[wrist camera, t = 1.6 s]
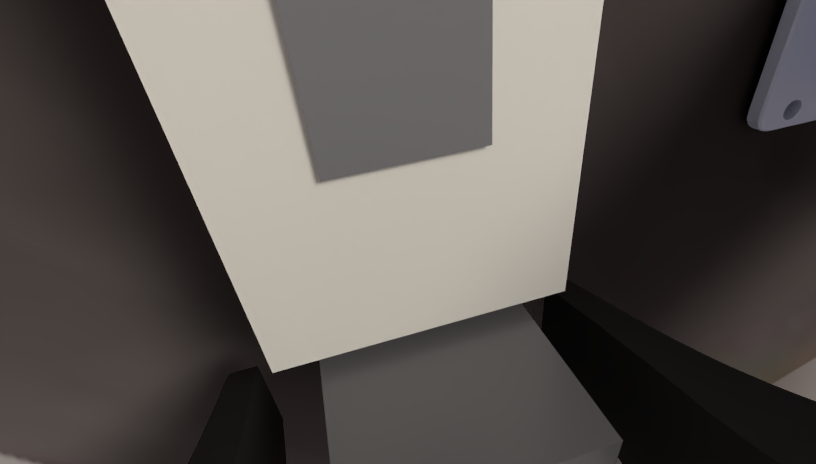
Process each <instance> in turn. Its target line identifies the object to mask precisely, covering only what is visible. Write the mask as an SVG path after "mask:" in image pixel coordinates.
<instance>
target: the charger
mask: <svg viewBox="0 0 816 464" xmlns="http://www.w3.org/2000/svg"><path fill="white" fill-rule="evenodd" d="M319 362H320V372H321V381H322V391H323V400H324V410H325V419H326V429H327V438H328V448H329V457H330V464H616V461H617V458H618V455H619V452H620V448H621V445H622V442H623V440H622V439H621V437H620V436H619V435H618V433H617V432H616V431H615V429H614V428H613V426H612V425H611V424H610V422H609V421H608V420H607V418H606V417H605V416H604V414H603V413H602V412H601V410H600V409H599V408H598V406H597V405H596V404H595V402H594V401H593V399H592V398H591V397H590V395H589V394H588V393H587V391H586V390H585V389H584V387H583V386H582V385H581V383H580V382H579V381H578V379H577V378H576V377H575V375H574V374H573V372H572V371H571V370H570V368H569V367H568V366H567V364H566V363H565V362H564V360H563V359H562V358H561V356H560V355H559V354H558V352H557V351H556V350H555V348H554V347H553V345H552V344H551V343H550V341H549V340H548V339H547V337H546V336H545V335H544V333H543V332H542V331H541V329H540V328H539V327H538V325H537V324H536V323H535V321H534V320H533V319H532V317H531V316H530V314H529V313H528V312H527V310H526V309H525V308H524V306H523V305H522V304H517V305H513V306H510V307H506V308H503V309H499V310H496V311H492V312H488V313H485V314H481V315H478V316H474V317H471V318H467V319H464V320H460V321H456V322H453V323H449V324H446V325H442V326H439V327H435V328H431V329H428V330H424V331H421V332H417V333H414V334H410V335H407V336H403V337H399V338H396V339H392V340H389V341H385V342H382V343H378V344H375V345H371V346H367V347H364V348H360V349H357V350H353V351H350V352H346V353H342V354H339V355H335V356H332V357H328V358H325V359H321V360H319Z"/></svg>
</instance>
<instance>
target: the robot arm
mask: <svg viewBox="0 0 816 464" xmlns="http://www.w3.org/2000/svg"><path fill="white" fill-rule="evenodd" d="M814 120H816V0H787V2H786V5H785V7H784V10H783V13H782V16H781V19H780V22H779V25H778V28H777V30H776V33H775V36H774V39H773V42H772V45H771V48H770V51H769V54H768V56H767V59H766V62H765V65H764V68H763V71H762V74H761V77H760V79H759V82H758V85H757V88H756V91H755V94H754V97H753V100H752V103H751V105H750V108H749V111H748V116H747V122H748V125H749V126H750V127H751V128H754V129H757V130H760V131H771V130H775V129H780V128H784V127H788V126H793V125H797V124H801V123H806V122H810V121H814ZM541 331H542V332H543V333H544V335H545V336H546V337H547V339H548V340H549V341H550V343H551V344H552V345H553V347H554V348H555V350H556V351H557V352H558V354H559V355H560V356H561V358H562V359H563V360H564V362H565V363H566V364H567V366H568V367H569V368H570V370H571V371H572V372H573V374H574V375H575V377H576V378H577V379H578V381H579V382H580V383H581V385H582V386H583V387H584V389H585V390H586V391H587V393H588V394H589V395H590V397H591V398H592V399H593V401H594V402H595V404H596V405H597V406H598V408H599V409H600V410H601V412H602V413H603V414H604V416H605V417H606V418H607V420H608V421H609V422H610V424H611V425H612V426H613V428H614V429H615V431H616V432H617V433H618V435H619V436H620V437H621V439H622V440H623V442H622V445H621V448H620V452H619V455H618V458H619V459H620V461H621V462H622V464H816V401H813V400H810V399H808V398H805V397H802V396H800V395H797V394H794V393H792V392H789V391H787V390H784V389H782V388H779V387H777V386H774V385H772V384H769V383H767V382H765V381H762V380H760V379H758V378H755V377H753V376H751V375H748V374H746V373H744V372H741V371H739V370H737V369H734V368H732V367H730V366H728V365H726V364H723V363H721V362H719V361H717V360H715V359H713V358H710V357H708V356H706V355H704V354H702V353H700V352H698V351H696V350H694V349H692V348H690V347H688V346H686V345H684V344H682V343H680V342H678V341H676V340H674V339H672V338H670V337H669V336H667V335H665V334H663V333H661V332H659V331H657V330H655V329H653V328H652V327H650V326H648V325H646V324H644V323H642V322H641V321H639V320H637V319H635V318H633V317H632V316H630V315H628V314H626V313H625V312H623V311H621V310H619V309H618V308H616V307H614V306H612V305H611V304H609V303H607V302H605V301H604V300H602V299H600V298H598V297H597V296H595V295H593V294H592V293H590V292H588V291H586V290H585V289H583V288H581V287H579V286H577V285H576V284H574V283H572V282H570V281H568V280H566V287H565V291H563V292H560V293H556V294H553V295H549V296H545V299H544V310H543V320H542V330H541ZM188 464H286V453H285V440H284V429H283V419H282V416H281V414H280V412H279V410H278V408H277V406H276V404H275V402H274V400H273V397H272V395H271V393H270V391H269V389H268V387H267V385H266V383H265V381H264V378H263V376H262V374H261V372H260V370H259V368H258V366H256V367H252V368H249V369H245V370H242V371H238V372H234V373H231V374H230V375H229V376H228V377H227V379H226V381H225V384H224V386H223V389H222V391H221V393H220V396H219V398H218V400H217V403H216V405H215V407H214V409H213V412H212V414H211V416H210V419H209V421H208V423H207V425H206V427H205V429H204V432H203V434H202V436H201V438H200V440H199V442H198V445H197V447H196V449H195V451H194V453H193V455H192V457H191V459H190V461H189V463H188Z"/></svg>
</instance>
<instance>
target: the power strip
mask: <svg viewBox="0 0 816 464" xmlns="http://www.w3.org/2000/svg"><path fill="white" fill-rule="evenodd" d="M105 1H106V4H107V6H108V8H109V10H110V13H111V15H112V17H113V19H114V22H115V24H116V26H117V28H118V30H119V33H120V35H121V37H122V39H123V42H124V44H125V46H126V48H127V50H128V53H129V55H130V57H131V59H132V62H133V64H134V66H135V68H136V70H137V73H138V75H139V77H140V79H141V82H142V84H143V86H144V88H145V91H146V93H147V95H148V97H149V99H150V102H151V104H152V106H153V108H154V111H155V113H156V115H157V117H158V119H159V122H160V124H161V126H162V128H163V131H164V133H165V135H166V137H167V139H168V142H169V144H170V146H171V148H172V151H173V153H174V155H175V157H176V160H177V162H178V164H179V166H180V168H181V171H182V173H183V175H184V177H185V180H186V182H187V184H188V186H189V188H190V191H191V193H192V195H193V197H194V200H195V202H196V204H197V206H198V208H199V211H200V213H201V215H202V217H203V220H204V222H205V224H206V226H207V229H208V231H209V233H210V235H211V237H212V240H213V242H214V244H215V246H216V249H217V251H218V253H219V255H220V257H221V260H222V262H223V264H224V266H225V269H226V271H227V273H228V275H229V277H230V280H231V282H232V284H233V286H234V289H235V291H236V293H237V295H238V297H239V300H240V302H241V304H242V306H243V309H244V311H245V313H246V315H247V318H248V320H249V322H250V324H251V326H252V329H253V331H254V333H255V335H256V338H257V340H258V342H259V344H260V346H261V349H262V351H263V353H264V355H265V358H266V360H267V362H268V364H269V366H270V369H271V371H272V373H275V372H278V371H282V370H285V369H289V368H293V367H296V366H300V365H303V364H307V363H310V362H314V361H318V360H321V359H325V358H328V357H332V356H335V355H339V354H342V353H346V352H350V351H353V350H357V349H360V348H364V347H367V346H371V345H375V344H378V343H382V342H385V341H389V340H392V339H396V338H399V337H403V336H407V335H410V334H414V333H417V332H421V331H424V330H428V329H431V328H435V327H439V326H442V325H446V324H449V323H453V322H456V321H460V320H464V319H467V318H471V317H474V316H478V315H481V314H485V313H488V312H492V311H496V310H499V309H503V308H506V307H510V306H513V305H517V304H521V303H524V302H528V301H531V300H535V299H538V298H542V297H545V296H549V295H553V294H556V293H560V292H563V291H565V287H566V280H567V272H568V265H569V257H570V250H571V242H572V235H573V227H574V220H575V212H576V205H577V197H578V190H579V182H580V175H581V167H582V160H583V152H584V145H585V137H586V129H587V122H588V114H589V107H590V99H591V92H592V84H593V77H594V69H595V62H596V54H597V47H598V39H599V32H600V24H601V17H602V9H603V2H604V0H105Z"/></svg>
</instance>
